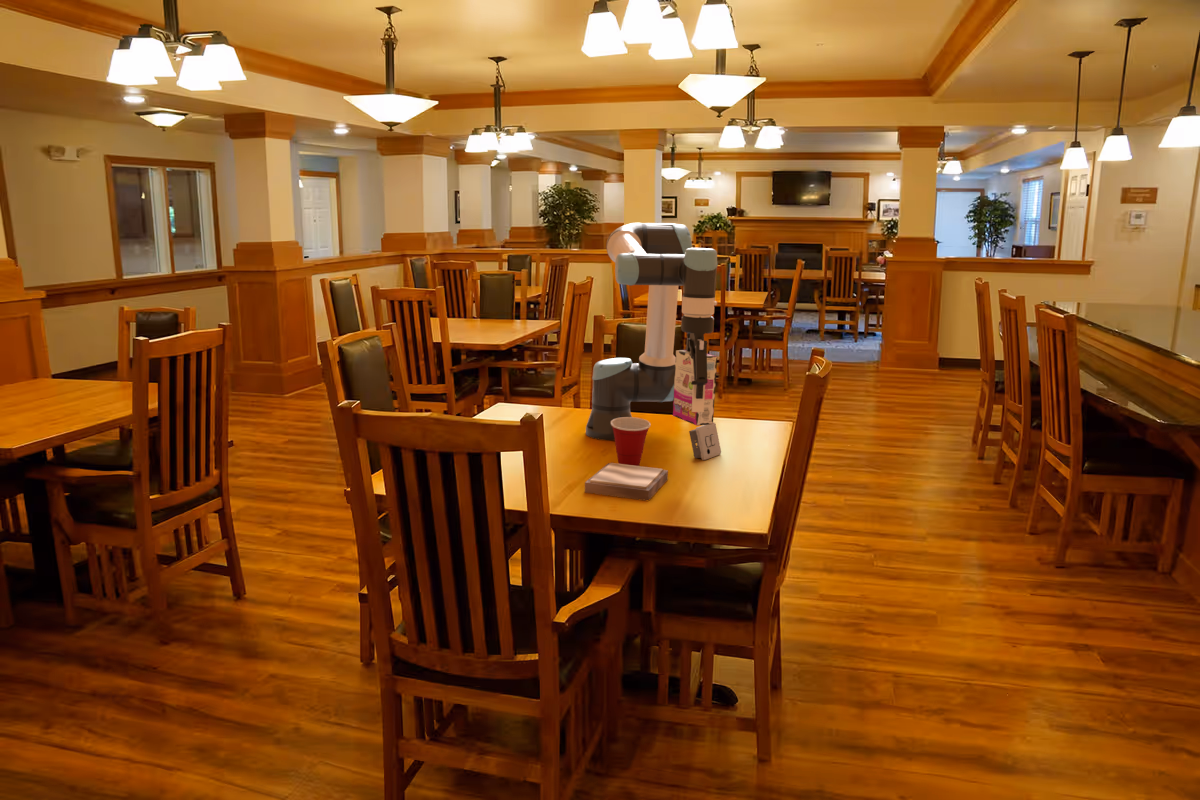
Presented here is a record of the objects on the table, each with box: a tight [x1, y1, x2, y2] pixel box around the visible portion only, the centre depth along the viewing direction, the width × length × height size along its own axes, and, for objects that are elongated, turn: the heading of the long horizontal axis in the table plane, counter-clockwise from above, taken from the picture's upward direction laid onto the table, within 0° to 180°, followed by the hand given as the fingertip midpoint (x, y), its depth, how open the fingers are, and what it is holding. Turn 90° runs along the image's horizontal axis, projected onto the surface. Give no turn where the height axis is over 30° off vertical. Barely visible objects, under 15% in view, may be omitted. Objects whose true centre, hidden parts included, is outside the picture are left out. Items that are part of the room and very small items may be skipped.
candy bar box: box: [672, 349, 718, 427], centre depth 202 cm, size 11×5×16 cm, turn 27°
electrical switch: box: [688, 422, 722, 461], centre depth 240 cm, size 9×5×9 cm, turn 141°
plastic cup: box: [611, 416, 651, 466], centre depth 229 cm, size 11×11×12 cm
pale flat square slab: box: [584, 462, 669, 501], centre depth 211 cm, size 18×16×3 cm
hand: (693, 405), depth 203 cm, fingers closed on candy bar box, 12 cm apart
